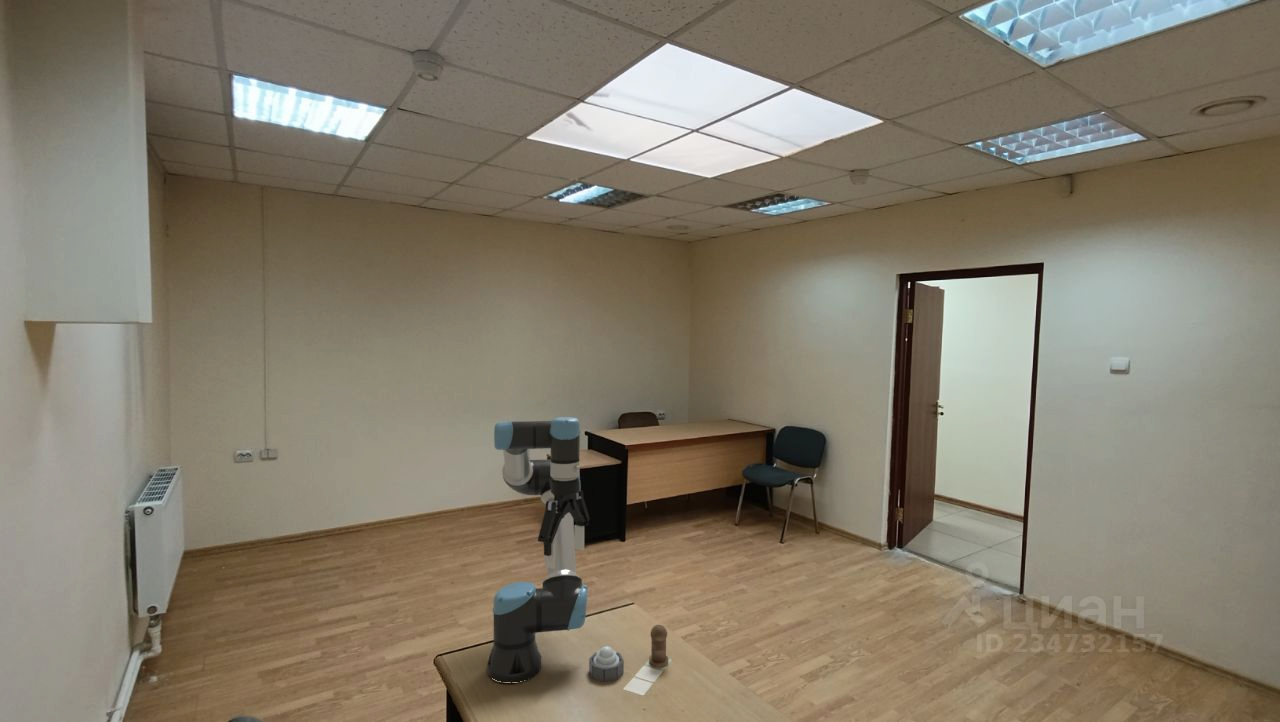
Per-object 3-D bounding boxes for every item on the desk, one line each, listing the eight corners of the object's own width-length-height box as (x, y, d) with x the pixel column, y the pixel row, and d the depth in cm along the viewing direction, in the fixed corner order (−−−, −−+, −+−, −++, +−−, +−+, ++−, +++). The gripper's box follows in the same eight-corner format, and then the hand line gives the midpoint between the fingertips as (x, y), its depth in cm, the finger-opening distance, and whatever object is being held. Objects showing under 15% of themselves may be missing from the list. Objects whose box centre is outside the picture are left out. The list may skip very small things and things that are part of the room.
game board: (617, 692, 152) (617, 688, 152) (649, 655, 170) (649, 652, 170) (647, 702, 148) (647, 698, 148) (677, 663, 166) (677, 660, 166)
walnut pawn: (645, 664, 164) (645, 627, 163) (654, 655, 169) (654, 619, 168) (663, 669, 161) (663, 632, 161) (671, 659, 166) (671, 623, 166)
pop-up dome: (588, 669, 159) (588, 650, 158) (601, 656, 165) (601, 637, 165) (611, 676, 155) (611, 656, 155) (623, 663, 162) (623, 644, 162)
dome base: (584, 679, 158) (584, 663, 158) (600, 662, 166) (600, 647, 166) (612, 688, 154) (612, 671, 154) (628, 671, 162) (628, 655, 162)
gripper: (548, 490, 136) (548, 578, 137) (602, 469, 158) (601, 545, 159) (523, 486, 139) (523, 572, 140) (579, 466, 162) (579, 540, 162)
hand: (565, 558), depth 150 cm, fingers open, 13 cm apart
